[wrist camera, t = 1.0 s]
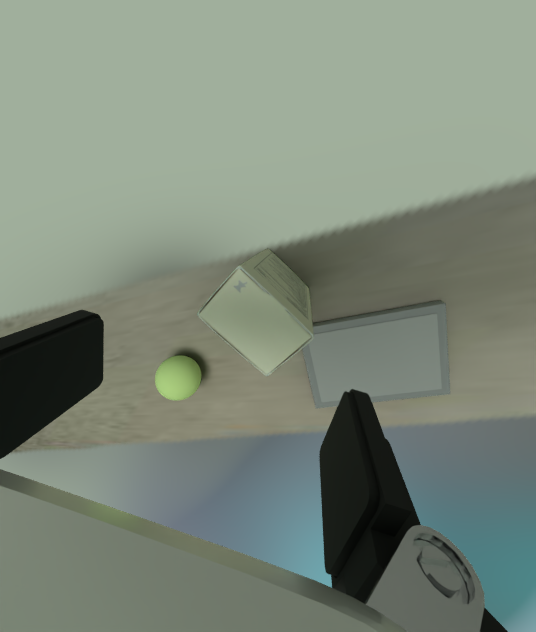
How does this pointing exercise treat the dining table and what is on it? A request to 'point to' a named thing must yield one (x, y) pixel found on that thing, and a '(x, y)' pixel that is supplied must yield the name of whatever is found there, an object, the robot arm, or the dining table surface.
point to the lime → (178, 377)
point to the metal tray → (380, 355)
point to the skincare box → (261, 312)
